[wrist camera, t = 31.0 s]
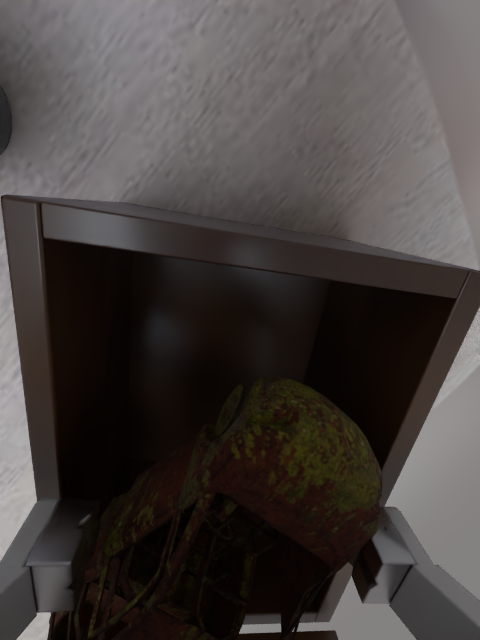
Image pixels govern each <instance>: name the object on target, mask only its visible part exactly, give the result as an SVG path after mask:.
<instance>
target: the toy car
mask: <svg viewBox="0 0 480 640" xmlns="http://www.w3.org/2000/svg"><path fill="white" fill-rule="evenodd" d="M381 497H382V472H381V469H380V466H379V463H378V461H377V459H376V457H375V455H374V453H373V451H372V449H371V447H370V445H369V442H368V440H367V438H366V436H365V435H364V434H363V432H362V431H361V430H360V428H359V427H358V426H357V424H356V423H355V422H354V421H352V420H351V419H350V418H349V417H348V416H347V415H346V414H345V413H344V412H343V411H341V410H340V409H339V408H338V407H337V406H335V405H334V404H333V403H332V402H331V401H330V400H328V399H327V398H326V397H325V396H323V395H322V394H320V393H318V392H317V391H315V390H314V389H312V388H310V387H309V386H306V385H304V384H301V383H299V382H297V381H294V380H292V379H286V378H280V377H263V378H260V379H257V380H256V381H255V382H254V383H253V385H252V387H251V390H247V389H244V387H243V385H241V384H239V385H238V386H236V387H235V388H234V390H233V391H232V392H231V394H230V395H229V397H228V398H227V400H226V402H225V404H224V406H223V408H222V410H221V412H220V415H219V418H218V420H217V424H216V426H214V425H213V424H212V423H211V424H207V425H204V426H203V428H202V430H201V431H200V432H199V433H198V434H197V435H196V436H195V437H193V438H192V439H190V440H189V441H187V442H186V443H184V444H183V445H182V446H180V447H179V448H177V449H176V450H174V451H173V452H171V453H170V454H168V455H167V456H166V457H164V458H163V459H161V460H160V461H158V462H157V463H155V464H154V465H152V466H151V467H150V468H148V469H147V470H145V471H144V472H142V473H141V474H139V475H138V476H137V478H136V480H135V482H134V484H133V486H132V488H131V490H130V491H128V492H126V493H124V494H122V495H120V496H118V497H116V498H113V499H112V501H111V502H110V504H109V505H108V507H107V508H106V510H105V511H104V513H103V514H102V515H101V517H100V531H99V536H98V541H97V545H96V548H95V551H94V554H93V557H92V559H91V560H90V561H89V562H88V563H87V564H86V565H85V581H84V583H83V586H82V589H81V592H80V595H79V598H78V601H77V603H76V606H75V609H74V611H57V612H52V613H51V617H50V620H49V624H50V627H49V633H48V639H47V640H235V639H237V638H238V635H239V631H240V629H241V627H242V624H243V622H244V619H245V614H246V611H247V608H248V605H249V599H250V594H251V588H252V583H253V577H254V571H255V566H256V560H257V557H258V556H259V555H261V554H262V553H264V552H265V551H267V550H269V549H270V548H272V547H273V546H275V545H276V544H278V543H279V538H278V533H277V530H278V531H280V532H281V533H283V534H285V535H286V537H285V539H284V541H283V543H282V545H281V547H280V549H279V552H278V554H277V556H276V566H277V576H278V585H279V594H280V610H281V637H280V639H279V640H286V639H287V637H288V636H289V635H290V633H291V632H292V631H293V629H294V627H295V629H294V632H293V636H292V639H291V640H294V638H295V635H296V632H297V628H298V625H299V622H300V618H301V617H302V615H303V614H304V612H305V611H306V609H307V608H308V606H309V605H310V603H311V602H312V600H313V599H314V597H315V595H316V594H317V592H318V591H319V589H320V588H321V586H322V585H323V583H324V582H325V580H326V579H327V578H328V577H330V576H331V575H333V574H334V573H336V572H338V571H339V570H341V569H342V568H343V567H344V566H345V565H346V564H347V563H348V562H349V560H350V559H351V558H352V557H353V556H354V555H355V554H356V553H357V552H358V551H359V550H360V549H361V548H362V547H363V546H364V545H365V544H366V543H367V542H368V541H369V540H370V539H371V538H372V537H373V536H374V535H375V534H376V533H377V530H378V527H379V524H380V519H381V510H380V506H379V501H380V499H381ZM271 527H273V530H274V535H275V537H274V536H273V535H271V534H270V533H268V532H267V530H268V529H270V528H271ZM261 534H265V535H266V536H268V537H269V538H271V539H272V540H274V541H273V542H271V543H270V544H268V545H267V546H265V547H264V548H262V549H260V550H259V551H257V552H256V548H255V543H254V539H256V538H257V537H259V536H260V535H261ZM217 566H218V567H217ZM216 568H217V574H216ZM215 574H216V579H215ZM316 585H318V586H317V587H316V589H315V590H314V592H313V593H312V595H311V596H310V598H309V599H308V601H307V602H306V599H307V597H308V596H309V594H310V592H311V590H312V588H313V587H315V586H316ZM212 591H213V595H212V599H211V602H210V598H211V594H212ZM209 602H210V604H209ZM305 602H306V604H305ZM208 604H209V607H208V609H207V606H208ZM206 609H207V612H206V614H205V611H206ZM299 611H300V612H299ZM298 613H299V614H298ZM297 615H298V616H297Z"/></svg>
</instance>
